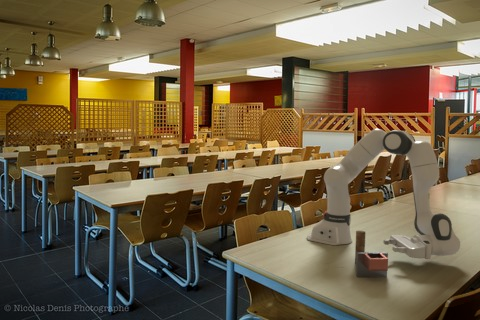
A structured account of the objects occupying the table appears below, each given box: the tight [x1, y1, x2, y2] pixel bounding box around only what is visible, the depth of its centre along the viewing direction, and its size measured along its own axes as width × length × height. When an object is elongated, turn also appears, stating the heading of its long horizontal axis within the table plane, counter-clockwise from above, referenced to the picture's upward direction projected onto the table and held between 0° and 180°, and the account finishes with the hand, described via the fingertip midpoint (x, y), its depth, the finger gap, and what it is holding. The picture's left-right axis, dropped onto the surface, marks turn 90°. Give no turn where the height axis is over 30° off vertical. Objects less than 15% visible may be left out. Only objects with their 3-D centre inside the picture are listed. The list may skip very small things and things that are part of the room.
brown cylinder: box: [354, 230, 366, 265], centre depth 168 cm, size 4×4×14 cm
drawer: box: [355, 251, 389, 278], centre depth 151 cm, size 12×8×10 cm, turn 92°
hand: (388, 245), depth 168 cm, fingers open, 8 cm apart
